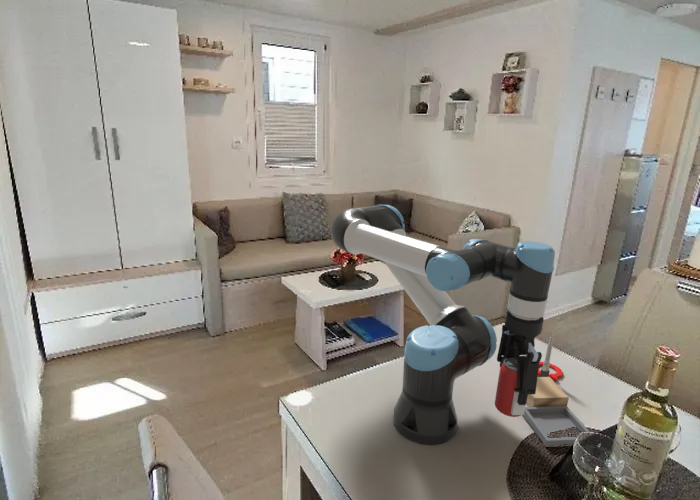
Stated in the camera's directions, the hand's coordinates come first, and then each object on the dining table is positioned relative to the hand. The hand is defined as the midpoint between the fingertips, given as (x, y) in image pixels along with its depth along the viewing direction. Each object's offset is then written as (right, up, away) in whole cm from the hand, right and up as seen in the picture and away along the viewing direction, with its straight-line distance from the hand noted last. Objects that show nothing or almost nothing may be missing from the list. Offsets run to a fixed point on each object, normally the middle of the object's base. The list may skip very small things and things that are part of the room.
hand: (509, 403), depth 96 cm
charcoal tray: (+12, -7, +3) cm, 14 cm away
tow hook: (+21, -1, +27) cm, 34 cm away
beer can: (0, -2, +1) cm, 2 cm away
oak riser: (+13, -4, +13) cm, 19 cm away
